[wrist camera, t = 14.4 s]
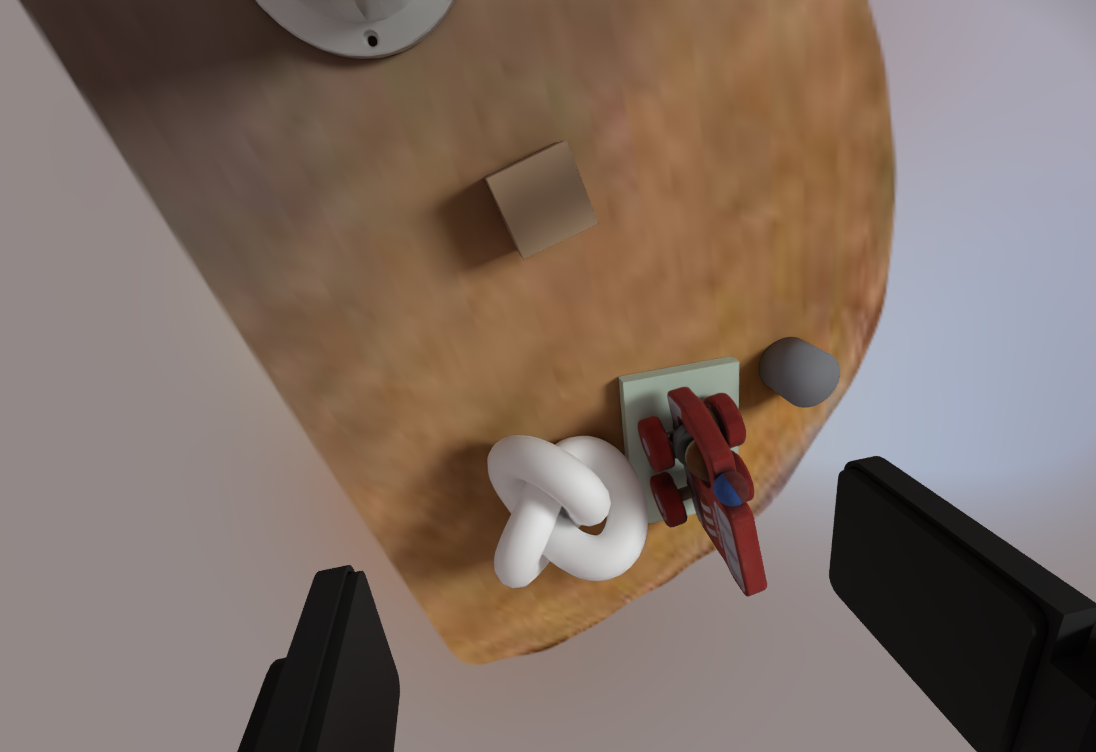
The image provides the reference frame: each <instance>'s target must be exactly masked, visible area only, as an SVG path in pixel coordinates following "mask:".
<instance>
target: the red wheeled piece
mask: <svg viewBox="0 0 1096 752" xmlns="http://www.w3.org/2000/svg"><path fill="white" fill-rule="evenodd" d="M667 398H668V404H669V407H670V412H671V415H672V420H673V430H674V431H669V432H666V431H665V429H664V427H663V425H662V422H661V421H660V419H659V418H658V417H656V416H651V417H648V418H645V419H642V420H640V421H639V422H638V433H639V437H640V440H641V443H642V446H643V449H644V452H645V454H646V457H647V459H648V461H649V463H650V465H651V467H652V468H653V470H654V471H656V472H662V471H665V470H668V469H671V468H673V467H674V466H675V458H677V459H678V460H679V461H680V462H681V463H682V464H683V465H684V468H685V471H686V476H687V486H685V487H682V488H679V489H678V488H677V486H676V485H675V483H674V480H673V478H672V476H671V475H670V474H669V473H667V472H662V473H660V474H657V475H654V476H652V477H651V478H650V486H651V490H652V494H653V497H654V499H655V502H656V505H657V507H658V510H659V512H660V514H661V516H662V518H663V520H664V521H665V523H666V524H667V525H668V526H669V527H675V526H678V525H680V524H683V523H685V522H686V521H687V512H686V509H685V506H684V503H683V501H685V500H688V499H691V498H692V500H693V504H694V508H695V511H696V514H697V517H698V519H699V521H700V522H701V524H702V526H703V528H704V529H705V531H706V532H707V534H708V535H709V537H710V539H711V540H712V542H713V543H714V545H715V547H716V548H717V550H718V551H719V553H720V554H721V556H722V557H723V559H724V560H725V562H726V564H727V566H728V568H729V570H730V572H731V574H732V576H733V578H734V579H735V581H736V582H737V584H738V585H739V587H740V589H741V590H742V591H743V593H744V594H745V595H746V596H751V595H753V594H756V593H758V592H761V591H763V590H765V589H766V588H767V581H766V577H765V572H764V566H763V562H762V556H761V552H760V547H759V542H758V537H757V531H756V526H755V521H754V517H753V514H752V511H751V509H750V507H749V505H748V504H747V501H750V500H752V499H753V497H754V486H753V482H752V479H751V476H750V474H749V471H748V469H747V467H746V465H745V464H744V462H743V460H742V459H741V458H740V456H739V455H738V454H737V453H735V452H734V451H732V450H731V448H733V447H736V446H739V445H741V444H743V443H744V441H745V438H746V429H745V425H744V422H743V419H742V416H741V414H740V411H739V409H738V407H737V405H736V404H735V402H734V401H733V400H732V398H731V397H730V396H729V395H728V394H726V393H717V394H714V395H711V396H709V397H707V398H705V399H704V402H702V401H701V400H700V399H699V398H698V397H697V396H696V395H695V394H694V393H693V391H692V390H691V389H690V388H689V387H681V388H677V389H674V390H670V391H668V393H667Z"/></svg>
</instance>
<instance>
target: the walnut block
mask: <svg viewBox="0 0 1096 752" xmlns="http://www.w3.org/2000/svg"><path fill="white" fill-rule="evenodd" d="M483 178H484V180H485V182H486V184H487V187H488V189H489V191H490V193H491V195H492V197H493V199H494V202H495V204H496V206H497V208H498V210H499V212H500V215H501V217H502V219H503V221H504V223H505V225H506V228H507V230H508V232H509V234H510V236H511V238H512V241H513V243H514V245H515V247H516V249H517V251H518V252H519V254H520V255H521V257H522V258H523V259H526V258H528V257H530V256H532V255H534V254H536V253H538V252H540V251H542V250H544V249H546V248H548V247H551V246H553V245H555V244H557V243H559V242H561V241H563V240H565V239H567V238H569V237H571V236H573V235H575V234H577V233H580V232H582V231H584V230H586V229H588V228H590V227H592V226H594V225H596V224H598V220H597V218H596V215H595V213H594V210H593V208H592V205H591V202H590V200H589V197H588V195H587V192H586V190H585V187H584V184H583V182H582V179H581V177H580V174H579V172H578V169H577V166H576V164H575V161H574V159H573V156H572V154H571V151H570V148H569V146H568V143H567V141H566V140H564V141H560V142H556V143H553V144H551V145H549V146H547V147H545V148H543V149H541V150H539V151H537V152H535V153H533V154H531V155H529V156H527V157H524V158H522V159H520V160H518V161H516V162H514V163H512V164H510V165H508V166H506V167H504V168H502V169H500V170H498V171H496V172H494V173H492V174H489V175H487V176H485V177H483Z"/></svg>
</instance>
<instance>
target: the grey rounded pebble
mask: <svg viewBox="0 0 1096 752" xmlns="http://www.w3.org/2000/svg"><path fill="white" fill-rule="evenodd" d="M759 374H760V377H761V380H762V381H763V383H764V384H765V385H767V386H768V387H769V388H771V389H772V390H773V391H775V392H776V393H778V394H779V395H780V396H782V397H783V398H785V399H786V400H787V401H789V402H790V403H792V404H793V405H795V406H798V407H812V406H815V405H817V404H819V403H821V402H823V401H824V400H826V399H827V398H828V397H829V396H830V395H831V394H832V392H833V391H834V390H835V388H836V386H837V384H838V381H839V377H840V368H839V364H838V362H837V360H836V359H835V358H834V357H833V356H832V355H831V354H829V353H827V352H825V351H823V350H821V349H819V348H817V347H815V346H813V345H811V344H809V343H807V342H805V341H803V340H801V339H799V338H796V337H786V338H782V339H780V340H778V341H776V342H774V343H773V344H772V345H770V346H769V347H768V348H767V350H766V351H765V352H764V354H763V356H762V358H761V360H760V364H759Z"/></svg>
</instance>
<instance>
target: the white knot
mask: <svg viewBox="0 0 1096 752" xmlns="http://www.w3.org/2000/svg"><path fill="white" fill-rule="evenodd" d="M487 465H488V474H489V478H490V481H491V483H492V485H493V487H494V489H495V491H496V493H497V494H498V496H499V497H500V499H501V500H502V502H503V503H504V505H505V506H506V507H507V508H508V510H509V511H510V513H511V516H510V518H509V520H508V522H507V524H506V526H505V528H504V530H503V533H502V535H501V538H500V540H499V543H498V546H497V549H496V552H495V556H494V567H495V573H496V575H497V576H498V578H499V579H500V581H501V582H502V583H503V584H504V585H507V586H509V587H511V588H519V587H525V586H527V585H528V584H529V583H530V582H531V581H533V580H534V579H535V578H536V577H537V576H538V575H539V574H540V573H541V572H542V571H543V569H544V568H545V567H546V566H547V565H548V563H549V562H550V561H551V562H552V563H553V564H555V565H556V566H557V567H559V568H561V569H562V570H564V571H566V572H568V573H569V574H571V575H573V576H575V577H578V578H580V579H584V580H589V581H602V580H608V579H611V578H614V577H616V576H619V575H621V574H622V573H623V572H625V571H626V570H627V569H629V568H630V567H631V566H632V565H633V563H634V562H635V561H636V560H637V558H638V557H639V555H640V553H641V551H642V549H643V547H644V544H645V540H646V536H647V531H648V508H647V502H646V496H645V492H644V489H643V486H642V483H641V480H640V478H639V477H638V475H637V473H636V471H635V469H634V467H633V466H632V465H631V463H630V462H629V461H628V459H627V458H626V457H625V456H624V455H623V454H622V453H621V452H620V451H619V450H618V449H617V448H616V447H614V446H613V445H611V444H610V443H608V442H606V441H604V440H602V439H599V438H596V437H591V436H576V437H570V438H566V439H563V440H561V441H559V442H558V443H556V444H555V445H554V444H552V443H550V442H547V441H545V440H542V439H540V438H536V437H532V436H523V435H511V436H506V437H505V438H503V439H501V440H499V441H498V442H497V443H495V444H494V445H493V447H492V449H491V451H490V453H489V455H488V458H487ZM606 516H607V521H606V525H605V527H604V529H603V531H602V532H601V534H599V535H596V536H595V535H590V534H587V533H585V532H582V531H581V530H580V529H578V528H579V527H580V526H581V525H585V526H593V525H596V524H599V523H601V522H602V521H603V520H604V519H605V517H606Z"/></svg>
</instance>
